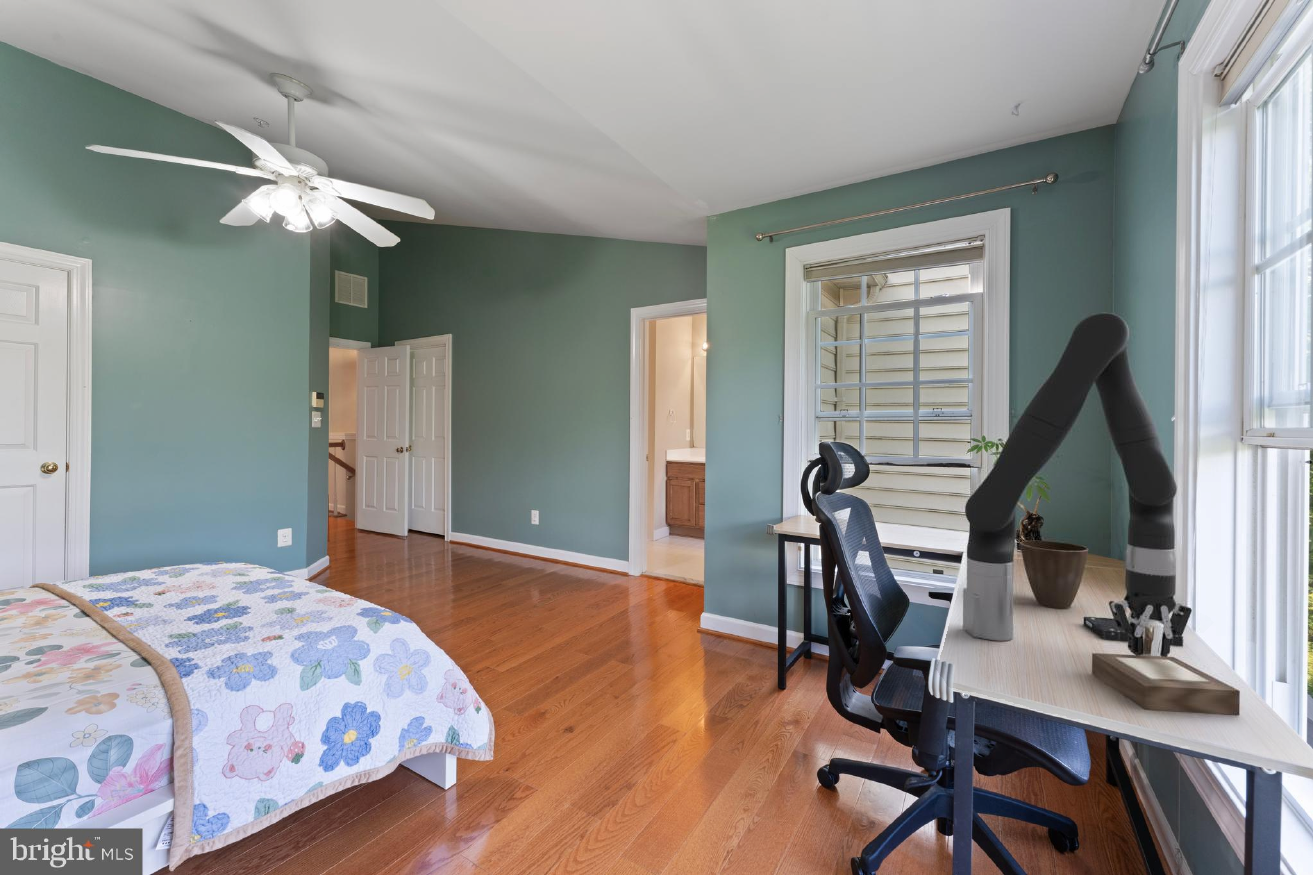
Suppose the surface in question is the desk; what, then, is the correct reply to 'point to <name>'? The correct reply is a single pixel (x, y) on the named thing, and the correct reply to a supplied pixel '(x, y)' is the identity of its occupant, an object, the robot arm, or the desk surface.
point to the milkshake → (1152, 638)
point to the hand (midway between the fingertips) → (1148, 654)
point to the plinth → (1165, 684)
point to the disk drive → (1116, 630)
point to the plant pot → (1054, 571)
